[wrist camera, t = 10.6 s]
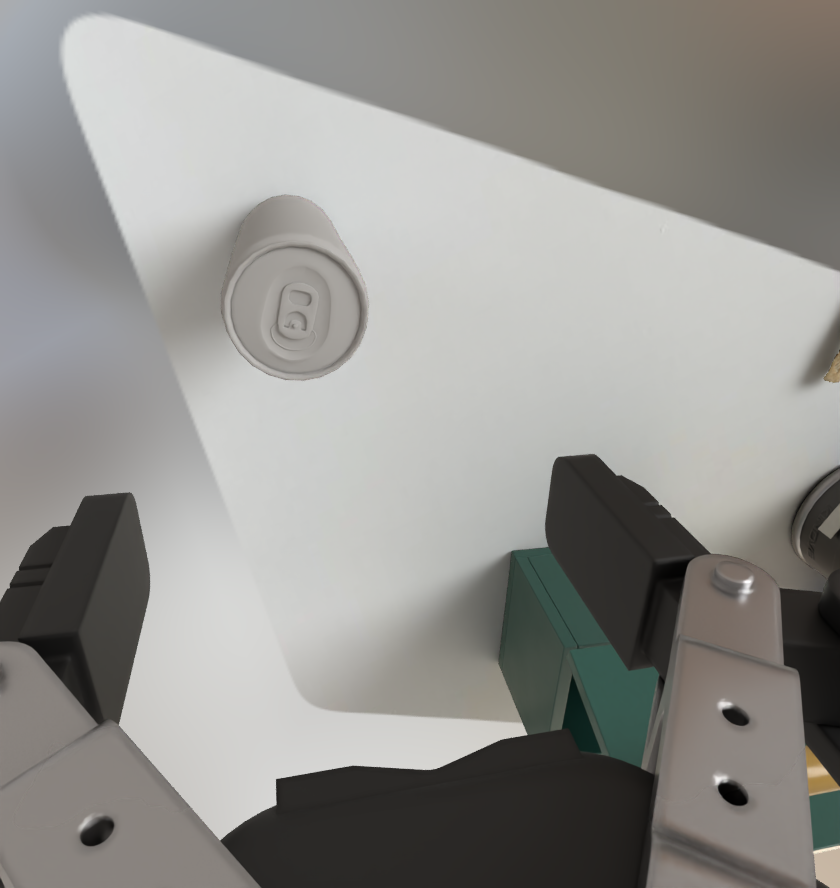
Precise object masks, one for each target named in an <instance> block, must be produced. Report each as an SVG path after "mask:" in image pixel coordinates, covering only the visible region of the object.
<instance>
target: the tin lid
mask: <svg viewBox="0 0 840 888" xmlns="http://www.w3.org/2000/svg"><path fill="white" fill-rule="evenodd" d="M566 658H567V661H568V664H569V666H570V669H571V672H572V674H573V677H574V680H575V682H576V685H577V688H578V690H579V693H580V696H581V698H582V701H583V704H584V707H585V709H586V712H587V715H588V717H589V720H590V723H591V725H592V728H593V731H594V733H595V736H596V739H597V741H598V744H599V747H600V749H601V752H602V755H606V756H609V757H612V758H616V759H619V760H622V761H625V762H628V763H630V764H633V765H635V766H638V767H640V768H641V765H642V760H643V754H644V749H645V743H646V737H647V732H648V726H649V721H650V715H651V709H652V704H653V698H654V692H655V687H656V684H657V680H658V676H659V673H658V672H657V670H656V669H655V667H650V668H644V669H638V670H631V671H628V669H627V668H626V666H625V665H624V663H623V662H622V660H621V658H620V657H619V655H618V654H617V652H616V651H615V649H614V648H613V646H612V645H604V646H597V647H589V648H582V649H574V650H569V653H568V655H567V657H566ZM805 751H806V763H807V776H808V788H809V801H810V813H811V826H812V839H813V851H814V854H815V853H820V852H825V851H829V850H834V849H839V848H840V787H839V786H838V784H837V783H836V782H835V781H834V779H833V778H832V777H831V775H830V774H829V773H828V772H827V770H826V769H825V768H824V767H823V765H822V764H821V763H820V761H819V760H818V759H817V758H816V756H815V755H814V754H813V753H812V751H811V750H810V749H809V747H808V746H807V745H806V744H805Z"/></svg>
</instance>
